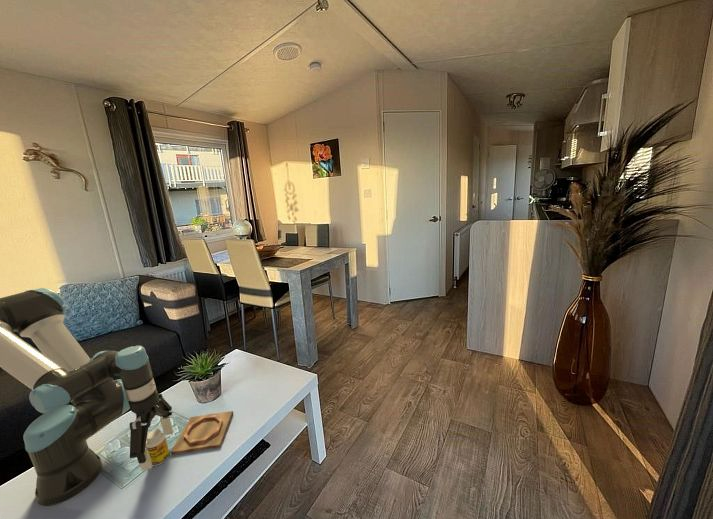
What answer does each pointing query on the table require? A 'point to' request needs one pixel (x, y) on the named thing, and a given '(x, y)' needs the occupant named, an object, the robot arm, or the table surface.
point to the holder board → (203, 433)
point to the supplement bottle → (157, 447)
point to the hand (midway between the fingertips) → (158, 449)
